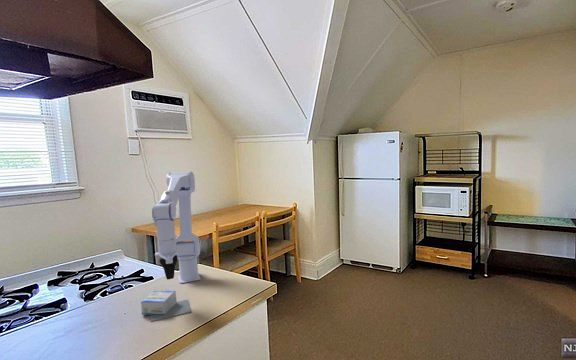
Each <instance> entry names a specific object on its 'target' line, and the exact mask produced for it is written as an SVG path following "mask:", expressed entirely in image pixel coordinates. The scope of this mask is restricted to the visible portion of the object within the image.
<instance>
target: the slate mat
mask: <svg viewBox="0 0 576 360" xmlns="http://www.w3.org/2000/svg"><path fill="white" fill-rule="evenodd" d="M191 313H192V309H191V306H190V302H189V299H183V300H179V301H177V303H176V304H175V305H174V306H173V307H172V308H171V309H170V310H169V311H168V312H167V313H166V314H151V315H150V322H151V323H152V322H155V321H160V320H165V319H168V318H169V319H170V318H174V317H177V316H182V315H186V314H191Z"/></svg>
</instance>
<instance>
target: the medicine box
mask: <svg viewBox="0 0 576 360" xmlns="http://www.w3.org/2000/svg"><path fill="white" fill-rule="evenodd" d="M177 302H178V301H177V293H176V290H154V291H153V292H151V293H150V294H149V295H147V297H145V298H144V299H142V300H141V301H140V303H141V304H140V305H141V307H140V308H141V315H142V316H143V315H146V316H147V315H148V316H149V315H150V316H151V314H166V313H167V312H168V311H169V310H170V309H171V308H172V307H173V306H174V305H175V304H176V303H177Z"/></svg>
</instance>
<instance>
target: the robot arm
mask: <svg viewBox="0 0 576 360" xmlns="http://www.w3.org/2000/svg"><path fill="white" fill-rule="evenodd" d="M165 180H166V181H165V182H166V186H167V190H165V191H163V193H162V194H161V196H160V198H159V201H158V203H156V204H155V205H153V206H152V209H151V218H152V220H153V225H154V227H155V230H156V239H157V249H158V250H157V252H155V253H154V257H159V264H160V265H161V266H162V268H163V270H164V271H163V272H164V275H165V278H166V280H172V279H174V278H175V271H176V266H177V265H176V264H177V262H178V269H179V274H178V275H177V277H178V280H179V284H186V283H191V282H195V281H201V280H202V279H201V278H202V277H200V276H201V275H200V274H199V268H198V257H199V255H200V254H201V243H200V237H199V236H197V235H196V234H194V233H193V226H192V203H191V197H192V193H194V192H195V191H196V190H195V188H196V181H195V174H194V172H193V171H181V172H179V171H177V172H168V173H167V174H166V179H165ZM177 204H178V218H179V234H178V235H177V236H176V228H175V219H176V215H177V207H176V206H177Z"/></svg>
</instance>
